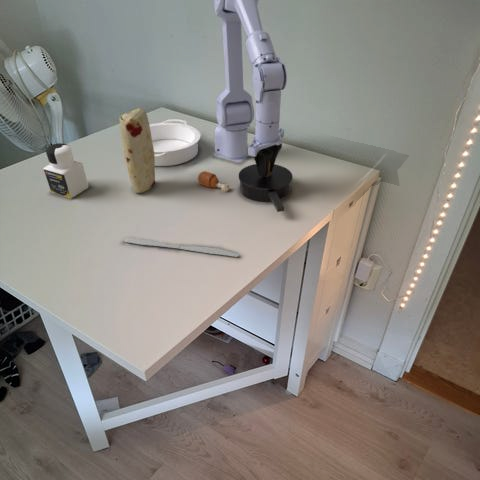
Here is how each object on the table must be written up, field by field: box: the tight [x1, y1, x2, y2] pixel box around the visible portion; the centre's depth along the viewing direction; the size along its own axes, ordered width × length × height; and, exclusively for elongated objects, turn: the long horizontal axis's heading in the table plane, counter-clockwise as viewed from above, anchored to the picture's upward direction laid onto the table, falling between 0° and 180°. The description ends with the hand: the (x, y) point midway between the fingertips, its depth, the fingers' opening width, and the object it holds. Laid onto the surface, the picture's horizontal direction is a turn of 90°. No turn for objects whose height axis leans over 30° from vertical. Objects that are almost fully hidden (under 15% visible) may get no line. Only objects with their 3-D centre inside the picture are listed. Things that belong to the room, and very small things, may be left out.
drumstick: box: [197, 171, 230, 193], centre depth 118 cm, size 10×4×4 cm, turn 57°
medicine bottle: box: [43, 142, 89, 200], centre depth 114 cm, size 7×7×12 cm
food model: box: [118, 107, 156, 194], centre depth 112 cm, size 10×7×20 cm
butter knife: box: [123, 237, 240, 258], centre depth 99 cm, size 1×27×3 cm
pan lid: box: [238, 162, 294, 190], centre depth 114 cm, size 14×14×5 cm
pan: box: [239, 181, 291, 203], centre depth 116 cm, size 13×13×4 cm
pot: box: [149, 118, 201, 167], centre depth 134 cm, size 29×22×5 cm
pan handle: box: [268, 190, 286, 213], centre depth 108 cm, size 9×2×1 cm, turn 12°
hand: (265, 173), depth 114 cm, fingers closed on pan lid, 2 cm apart
